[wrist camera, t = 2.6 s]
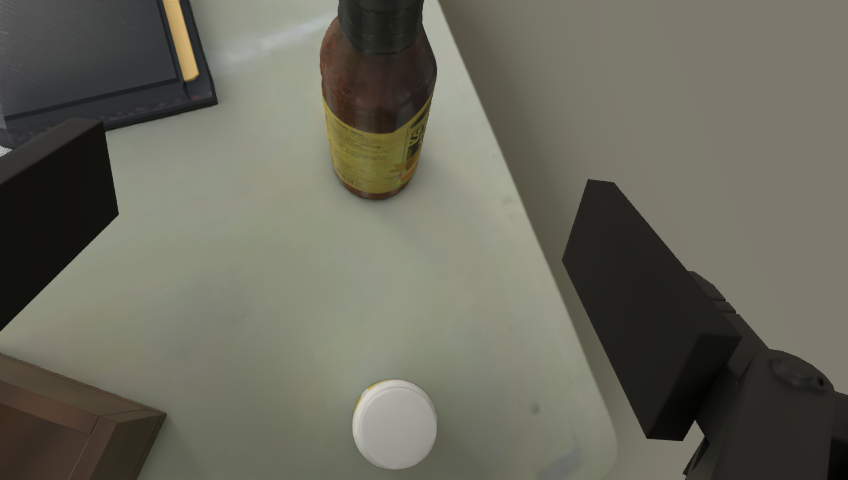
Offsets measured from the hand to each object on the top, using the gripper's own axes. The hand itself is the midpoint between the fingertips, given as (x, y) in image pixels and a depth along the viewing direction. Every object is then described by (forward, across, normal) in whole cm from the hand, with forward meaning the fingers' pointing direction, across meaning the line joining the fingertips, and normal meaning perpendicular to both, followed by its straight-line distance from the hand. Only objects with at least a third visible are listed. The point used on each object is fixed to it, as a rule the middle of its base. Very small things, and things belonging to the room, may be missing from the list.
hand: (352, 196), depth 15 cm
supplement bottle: (+11, +3, -21) cm, 24 cm away
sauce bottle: (+24, 0, -9) cm, 25 cm away
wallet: (+30, -22, -2) cm, 38 cm away
